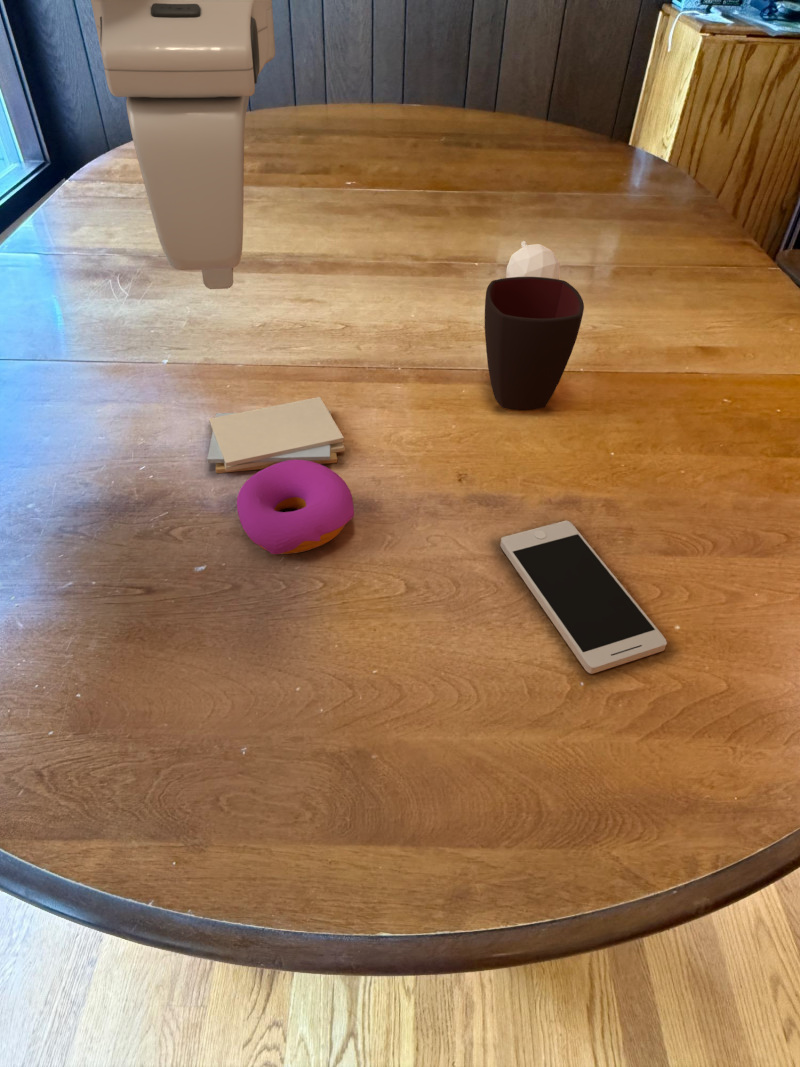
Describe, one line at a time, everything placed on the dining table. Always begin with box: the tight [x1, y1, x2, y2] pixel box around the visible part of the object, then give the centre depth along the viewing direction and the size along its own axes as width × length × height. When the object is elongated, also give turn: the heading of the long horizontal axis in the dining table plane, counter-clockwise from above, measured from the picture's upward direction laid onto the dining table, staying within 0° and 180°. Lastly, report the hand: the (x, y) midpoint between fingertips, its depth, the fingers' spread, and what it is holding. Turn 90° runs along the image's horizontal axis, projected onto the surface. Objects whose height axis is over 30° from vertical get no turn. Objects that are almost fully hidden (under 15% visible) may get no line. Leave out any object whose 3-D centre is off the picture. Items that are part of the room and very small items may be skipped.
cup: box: [484, 277, 585, 412], centre depth 85 cm, size 10×14×12 cm
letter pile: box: [206, 396, 346, 474], centre depth 80 cm, size 14×10×2 cm
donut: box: [236, 460, 355, 555], centre depth 70 cm, size 10×10×5 cm
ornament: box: [505, 240, 561, 280], centre depth 103 cm, size 7×7×8 cm
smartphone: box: [500, 520, 668, 675], centre depth 65 cm, size 7×16×1 cm, turn 21°
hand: (219, 279), depth 49 cm, fingers closed
